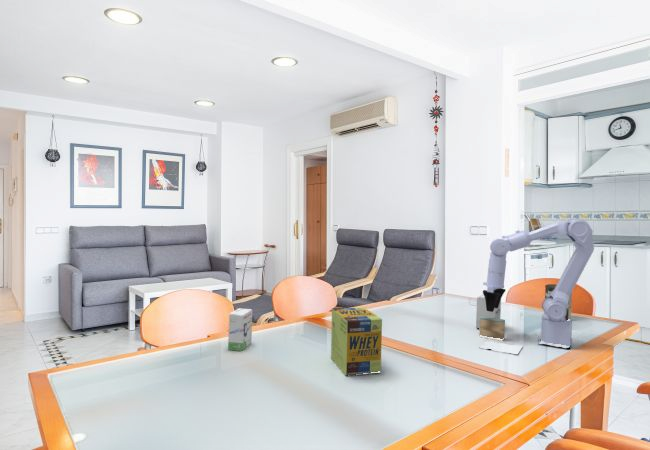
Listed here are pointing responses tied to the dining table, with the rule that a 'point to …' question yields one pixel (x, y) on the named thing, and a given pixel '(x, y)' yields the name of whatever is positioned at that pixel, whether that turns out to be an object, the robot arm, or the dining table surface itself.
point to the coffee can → (551, 287)
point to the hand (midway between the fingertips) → (492, 309)
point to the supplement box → (485, 310)
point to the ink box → (240, 329)
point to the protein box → (356, 340)
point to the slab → (492, 327)
